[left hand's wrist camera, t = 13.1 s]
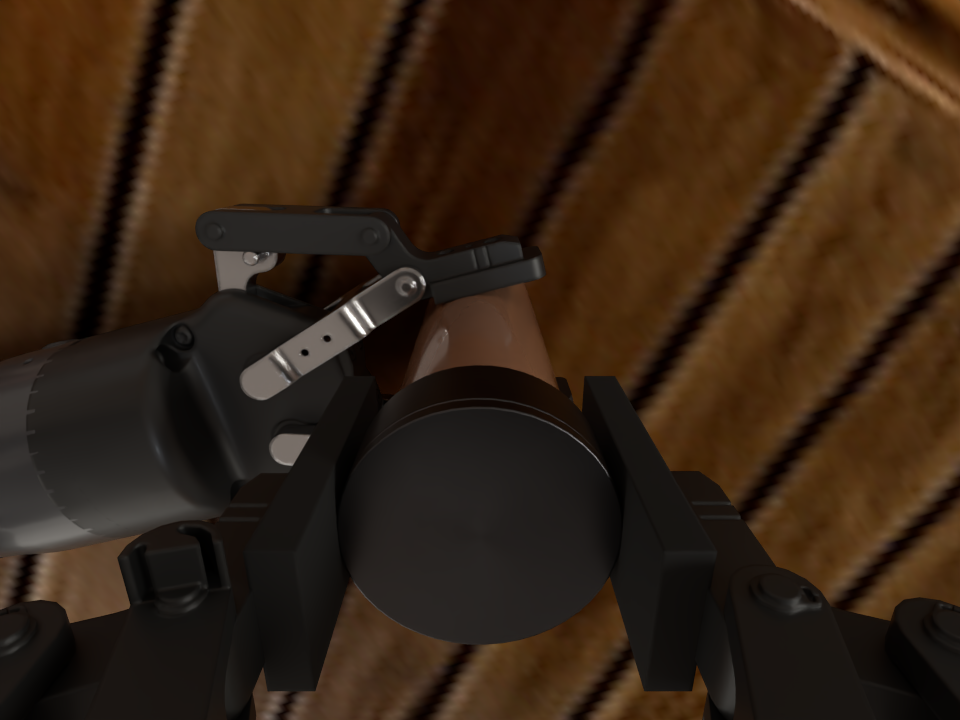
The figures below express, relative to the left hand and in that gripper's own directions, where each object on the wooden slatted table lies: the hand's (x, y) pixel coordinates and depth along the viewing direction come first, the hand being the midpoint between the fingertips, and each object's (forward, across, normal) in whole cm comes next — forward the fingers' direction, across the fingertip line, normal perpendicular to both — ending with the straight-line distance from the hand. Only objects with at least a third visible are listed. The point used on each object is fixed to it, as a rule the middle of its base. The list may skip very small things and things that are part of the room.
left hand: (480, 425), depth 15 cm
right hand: (+6, -3, -1) cm, 6 cm away
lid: (-4, 0, 0) cm, 4 cm away
